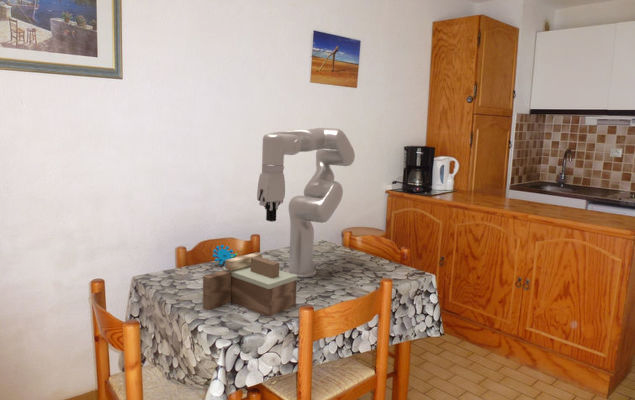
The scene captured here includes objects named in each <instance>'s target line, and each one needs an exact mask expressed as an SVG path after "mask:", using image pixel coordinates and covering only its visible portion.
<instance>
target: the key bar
mask: <svg viewBox="0 0 635 400" xmlns="http://www.w3.org/2000/svg"><path fill="white" fill-rule="evenodd" d="M254 257H261V258H263V254H262V253H259V252H253V253H249V254H245V255H241V256H236V257H235V258H232V259H228V260H225V263H224V264H225V266H224V268H225V269H227V270H230V271H232V270H236V269H240V268H244V267H247V266H251V258H254Z"/></svg>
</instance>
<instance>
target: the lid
mask: <svg viewBox="0 0 635 400" xmlns="http://www.w3.org/2000/svg"><path fill="white" fill-rule="evenodd" d="M224 270H226V271H229V272H231V276H233V277H236V278H238V279H241V280H244V281H247V282H250V283H253V284H255V285H258V286H261V287H264V288H267V289H271V288H274V287H277V286H280V285H283V284H286V283H289V282H292V281H295V280H297V281H298V277H297V275H294V274H291V273H288V272H285V270H280V262H277V261H275V260H271V259H267V258H264V257H262V258H261V257H254V258H251V266H247V267H244V268H240V269H236V270H232V271H230V270H227V269H225V267H223V268H222V270H221V271H224Z"/></svg>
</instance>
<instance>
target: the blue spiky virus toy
mask: <svg viewBox="0 0 635 400" xmlns="http://www.w3.org/2000/svg"><path fill="white" fill-rule="evenodd" d="M224 247H225V248H224ZM229 249H230V246H229V245H226V246H225V245H224V244H221V245H220V246H219V245H217V246H216V247H215V248H213V250H212V252H213V253H212V257H213V258H214V262H218V264H219V265H220V266H222V265H224V267H225V263H224V262H225V260H228V259H232V258H236V257H238V252H235V253H234V250H233V249H232V248H231V249H230V250H229ZM223 263H224V264H223Z"/></svg>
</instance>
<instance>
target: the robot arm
mask: <svg viewBox="0 0 635 400" xmlns="http://www.w3.org/2000/svg"><path fill="white" fill-rule="evenodd" d="M261 151H262V157H261V160H262V161H261V173H260V174H259V177H258V182H257V192H256V199H257V201H258V202H259V203H258V204H259V206H262V207H264V209H265V215H266V216H265V221H267V222H271V223H272V222H273V223H274V222H276V221H277V210H278V209H279V206H280V205H281V204H283V203H284V200H285V198H286V197H285V195H286V184H285V183H286V181H285V179H286V178H285V173H284V169H285V166H284V164H285V163H284V162H285V161H284V159H285V155H286V156H295V155H297V154H299V153H300V152H302V153H306V152H313V151H316V152H315V153H316V154H315V168H316V170H315V172H314V174H313V175H312V177H311V178H310V180H308V182H307V184H306V185H305V186H304V189H303V195H296V196H293V197H292V198H290V201H289V203H288V214H289V221H290V223H289V224H290V225H289V226H290V233H289V234H290V235H289V255H288V257H289V260H288V261H289V262H288V267H286V268H285V269H284V272H288V273H291V274H294V275H297V278H310V277H314V276H316V274H317V270H316V269H315V268H314V267H315V266H318V265H320V261H319V260H318V259H317V260H314V240H315V229H314V226H313V224H312V223H313V222H314V223H320V224H323V223H326V222H328V221H329V220H330V218H331V217H332V215H333V214H334V213H335V211H336V209H337V208H338V206H339V205H340V203H341V201H342V197H343V194H344V189H343V186H342V184H341V183H340V182H338V181H336V180H335V174H334V172H333V170H332V168H331V166H339V167H348V166H349V167H350V166H351V165H353V163H354V162H355V159H356V158H355V156H356V155H355V150H354V147H353V146H352V144H351V142H350V140H349V138H348V136H347V135H346V133H345V132H344V131H343V130H341V129H340V128H332V127H331V128H328V127H318V128H310V129H299V130H298V129H297V130H287V131H275V132H270V133H267V134H264V135H263V137H262V150H261Z"/></svg>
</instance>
